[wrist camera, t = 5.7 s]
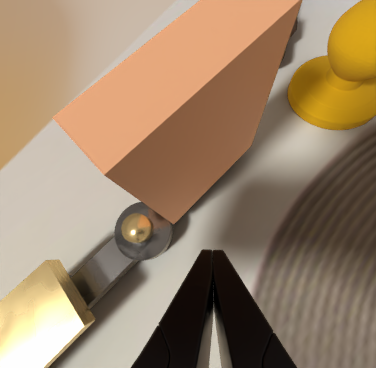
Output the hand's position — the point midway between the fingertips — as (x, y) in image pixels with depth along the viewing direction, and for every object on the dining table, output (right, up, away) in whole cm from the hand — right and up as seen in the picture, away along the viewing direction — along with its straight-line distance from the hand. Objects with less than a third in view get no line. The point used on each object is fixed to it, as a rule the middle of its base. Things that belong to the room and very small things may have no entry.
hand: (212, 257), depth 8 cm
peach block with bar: (-4, -1, +9) cm, 10 cm away
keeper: (-12, -8, +7) cm, 16 cm away
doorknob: (+13, +11, +11) cm, 20 cm away
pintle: (-5, 0, +7) cm, 8 cm away
